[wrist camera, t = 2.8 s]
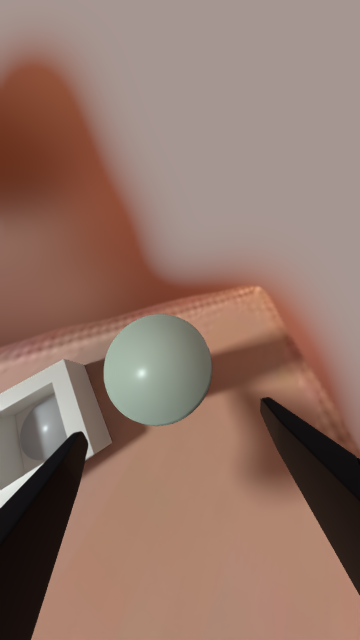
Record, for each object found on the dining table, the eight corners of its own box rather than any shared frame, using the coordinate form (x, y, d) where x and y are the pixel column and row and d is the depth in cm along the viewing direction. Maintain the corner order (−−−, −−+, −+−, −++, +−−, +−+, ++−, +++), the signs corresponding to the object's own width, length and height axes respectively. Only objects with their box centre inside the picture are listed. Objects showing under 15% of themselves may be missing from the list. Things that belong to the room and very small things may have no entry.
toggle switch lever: (204, 375, 19) (231, 339, 7) (186, 414, 17) (179, 457, 5) (171, 357, 20) (141, 297, 8) (151, 392, 18) (77, 387, 6)
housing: (112, 442, 16) (93, 454, 13) (21, 503, 15) (-24, 532, 12) (84, 364, 20) (63, 358, 16) (6, 408, 18) (-32, 411, 15)
